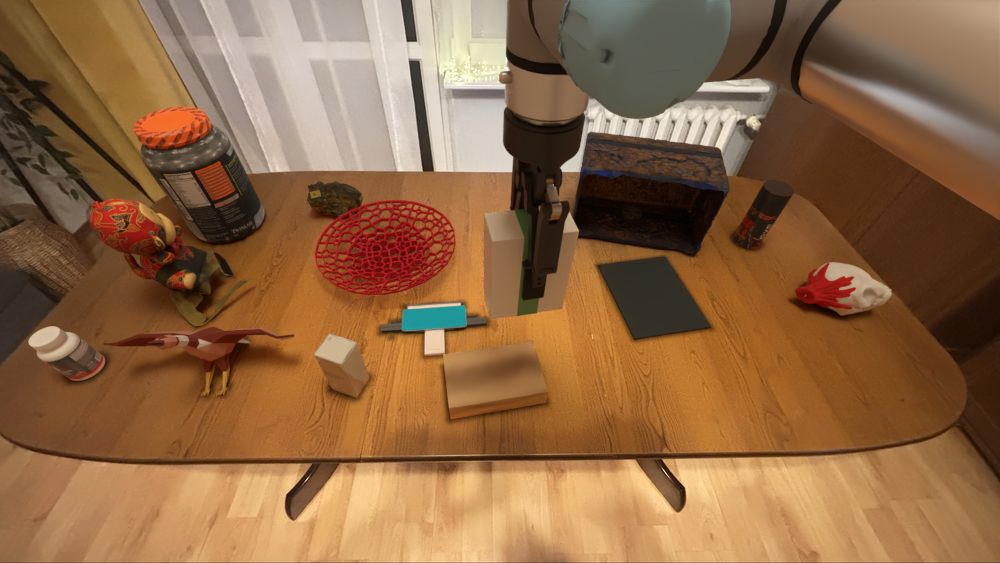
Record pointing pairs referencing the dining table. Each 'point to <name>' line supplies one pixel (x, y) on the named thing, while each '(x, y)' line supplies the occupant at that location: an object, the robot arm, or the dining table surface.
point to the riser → (493, 379)
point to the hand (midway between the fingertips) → (527, 280)
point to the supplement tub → (199, 173)
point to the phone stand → (434, 322)
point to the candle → (843, 289)
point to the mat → (652, 298)
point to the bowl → (385, 249)
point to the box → (342, 365)
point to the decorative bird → (201, 346)
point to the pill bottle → (67, 353)
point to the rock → (334, 198)
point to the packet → (520, 265)
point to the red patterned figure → (160, 253)
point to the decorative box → (649, 191)
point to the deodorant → (763, 214)
